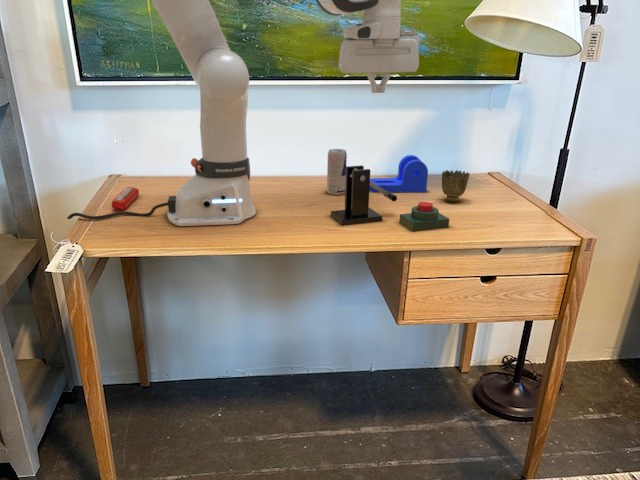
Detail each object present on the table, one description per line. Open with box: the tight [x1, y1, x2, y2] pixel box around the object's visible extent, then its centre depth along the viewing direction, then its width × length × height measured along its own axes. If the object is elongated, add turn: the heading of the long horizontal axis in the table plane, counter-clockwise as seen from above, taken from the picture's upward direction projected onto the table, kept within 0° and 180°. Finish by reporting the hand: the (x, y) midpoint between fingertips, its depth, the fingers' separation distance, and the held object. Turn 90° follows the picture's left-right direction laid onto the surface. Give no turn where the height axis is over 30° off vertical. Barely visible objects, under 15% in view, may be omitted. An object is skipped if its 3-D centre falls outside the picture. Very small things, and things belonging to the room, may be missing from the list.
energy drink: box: [326, 148, 348, 196], centre depth 168 cm, size 5×5×12 cm
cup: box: [441, 169, 470, 203], centre depth 162 cm, size 8×7×8 cm
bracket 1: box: [330, 164, 383, 226], centre depth 146 cm, size 11×8×13 cm
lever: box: [350, 168, 398, 202], centre depth 147 cm, size 13×5×2 cm
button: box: [417, 201, 434, 212], centre depth 143 cm, size 4×4×2 cm
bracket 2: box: [369, 154, 429, 194], centre depth 173 cm, size 18×8×9 cm, turn 95°
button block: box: [398, 205, 450, 232], centre depth 144 cm, size 10×7×4 cm
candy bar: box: [111, 186, 140, 211], centre depth 158 cm, size 16×4×3 cm, turn 0°
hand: (377, 92), depth 145 cm, fingers closed
